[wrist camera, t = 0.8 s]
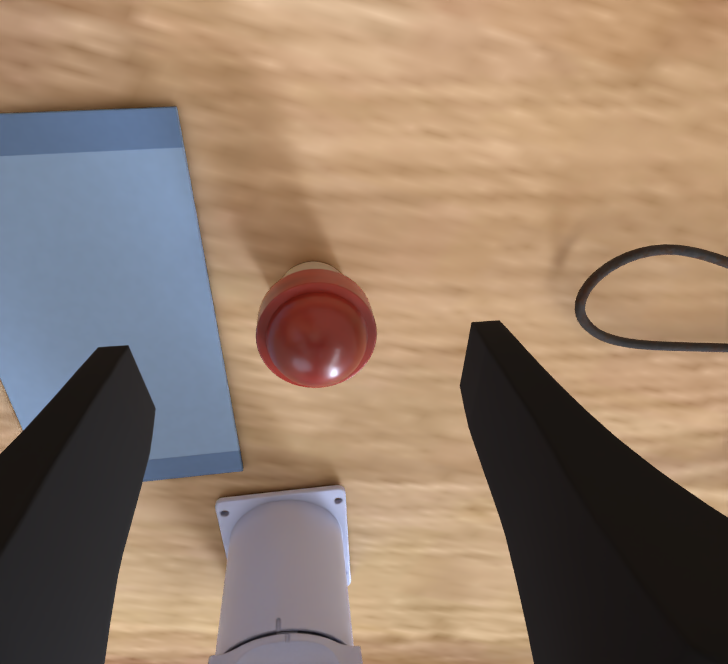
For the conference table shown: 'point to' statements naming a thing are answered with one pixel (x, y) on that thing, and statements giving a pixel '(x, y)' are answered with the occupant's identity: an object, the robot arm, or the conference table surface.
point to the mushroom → (315, 327)
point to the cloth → (111, 274)
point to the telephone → (630, 257)
